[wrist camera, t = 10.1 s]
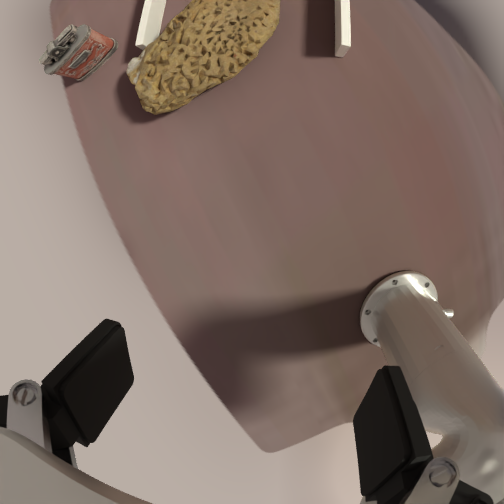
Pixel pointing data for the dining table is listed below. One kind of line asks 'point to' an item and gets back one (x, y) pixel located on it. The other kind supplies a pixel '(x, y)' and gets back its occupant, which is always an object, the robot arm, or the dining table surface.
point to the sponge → (201, 50)
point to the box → (156, 6)
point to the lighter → (77, 52)
